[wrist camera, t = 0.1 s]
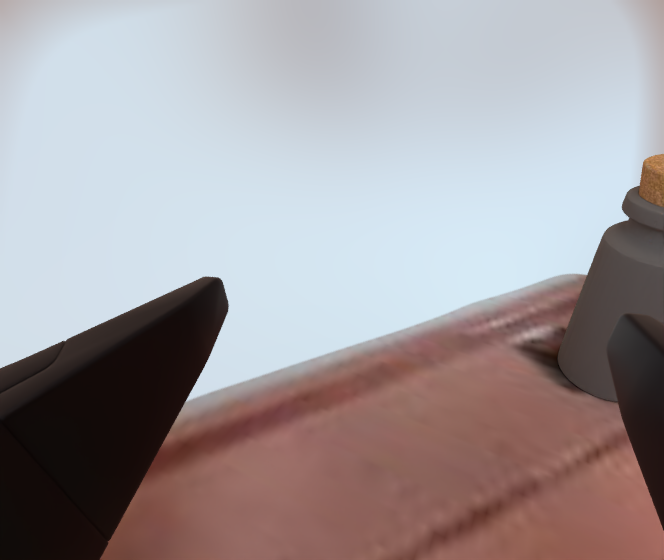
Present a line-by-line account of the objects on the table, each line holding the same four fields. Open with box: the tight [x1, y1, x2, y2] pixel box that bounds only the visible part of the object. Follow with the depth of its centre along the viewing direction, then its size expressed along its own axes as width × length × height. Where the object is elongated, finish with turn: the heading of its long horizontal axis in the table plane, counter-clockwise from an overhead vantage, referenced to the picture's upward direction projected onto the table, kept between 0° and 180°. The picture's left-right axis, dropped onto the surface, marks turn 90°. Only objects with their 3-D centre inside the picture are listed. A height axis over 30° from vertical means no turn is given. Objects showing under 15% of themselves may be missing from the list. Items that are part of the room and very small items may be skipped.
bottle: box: [558, 154, 664, 402], centre depth 23 cm, size 6×6×15 cm
